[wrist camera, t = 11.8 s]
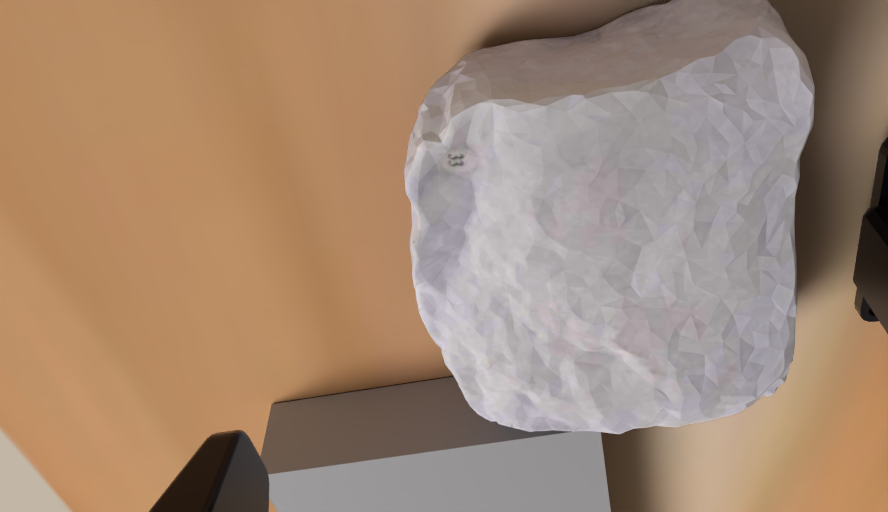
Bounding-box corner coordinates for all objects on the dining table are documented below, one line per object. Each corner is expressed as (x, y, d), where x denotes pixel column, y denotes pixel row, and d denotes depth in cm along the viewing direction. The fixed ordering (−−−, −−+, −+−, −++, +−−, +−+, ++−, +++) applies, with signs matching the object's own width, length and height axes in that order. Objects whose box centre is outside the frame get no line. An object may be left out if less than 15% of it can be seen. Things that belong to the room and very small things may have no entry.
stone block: (471, 342, 28) (774, 331, 25) (448, 451, 24) (801, 453, 21) (384, 20, 21) (790, -43, 18) (332, 103, 17) (834, 40, 14)
